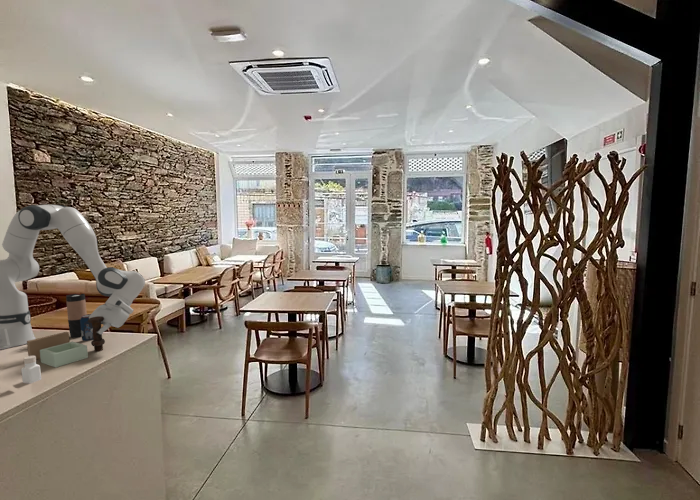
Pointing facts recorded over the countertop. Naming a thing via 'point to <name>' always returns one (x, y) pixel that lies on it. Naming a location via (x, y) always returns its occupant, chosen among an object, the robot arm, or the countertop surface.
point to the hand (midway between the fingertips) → (95, 332)
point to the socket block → (63, 354)
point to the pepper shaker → (30, 370)
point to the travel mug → (75, 313)
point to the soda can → (86, 328)
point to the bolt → (97, 337)
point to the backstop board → (46, 343)
